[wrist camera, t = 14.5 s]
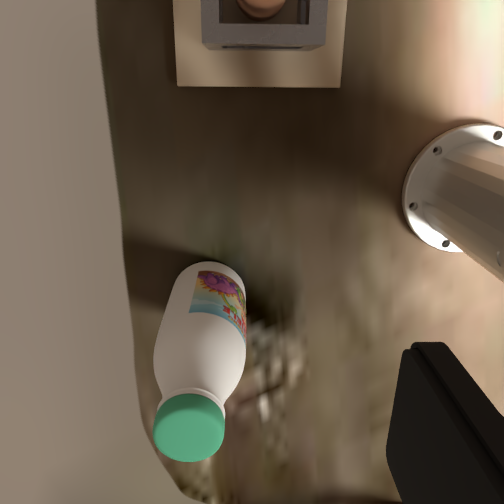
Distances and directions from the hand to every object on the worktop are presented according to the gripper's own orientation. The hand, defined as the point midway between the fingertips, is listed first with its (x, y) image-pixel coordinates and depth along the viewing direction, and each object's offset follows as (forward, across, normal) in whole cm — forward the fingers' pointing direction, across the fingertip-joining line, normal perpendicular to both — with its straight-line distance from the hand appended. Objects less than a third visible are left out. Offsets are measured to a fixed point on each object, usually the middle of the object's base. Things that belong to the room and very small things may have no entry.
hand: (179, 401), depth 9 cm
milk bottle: (+34, +2, +15) cm, 37 cm away
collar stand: (+33, -3, -13) cm, 36 cm away
